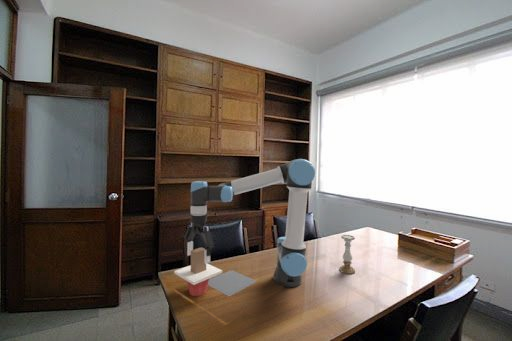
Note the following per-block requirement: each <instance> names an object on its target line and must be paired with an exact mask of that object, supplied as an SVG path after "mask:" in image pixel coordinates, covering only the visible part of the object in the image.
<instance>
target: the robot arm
mask: <svg viewBox="0 0 512 341" xmlns="http://www.w3.org/2000/svg"><path fill="white" fill-rule="evenodd" d="M315 176H316V168H315V166H314V164H313V163H311V161H309V160H307V159H305V158H304V159H303V158H298V159H297V158H296V159H293V160H290V161H288V162H286V163H283V164H281V165H278V166H277V167H276V168H273V169H270V170H267V171H263V172H259V173H256V174H251V175H248V176H245V177H241V178H237V179H235V180H234V179H233V180H231V181H227V182H222V183H220V184H218V185H208V182H207V181H203V180H196V181H192V182H191V183H190V221H189V222H187V223H188V224H187V229H186V231H185V234H184V241H186V244H187V245H186V246H187V248H186V249H187V251H186V253H187V254H186V255H187V257H189V256H191V250H194V241H193V240H194V238H195V236H196V234H197V235H199V237H200V238H201V241H202V243H203V245H204V247H205V248H204V249H205V255H204V263H205V264H206V263H207V264H209V263H210V262H211V255H212V249H213V248H215V243H214V241H213V236H212V232H211V228H210V225H208V226H206V223H207V221H208V214H207V213H208V203H209V202H210V203H211V202H214V203H230V202H232V201H233V196H236V195H240V194H242V193H247V192H250V191H254V190H257V189H262V188H265V187H269V186H272V185H276V184H279V183H281V184H286V188H287V189H288V190H289V192H288V202H287V215H286V226H285V235H284V236H280V237H278V238H277V239H276V240H277V243H276V246H277V247H276V267H275V268H274V269H275V270H274V272H273V281H274V282H275V283H277V284H278V285H281V286H283V288H284V287H285V288H295V287H299V286H300V285H301V284H302V283H303V276H302V274H304V273H305V272H306V270H307V269H308V268H307V267H308V261H307V258H306V254H307V253H306V252H307V245H306V243H305V242H304V239H305V227H306V216H307V203H308V202H307V201H308V192H310V191H311V190H312V187H313V186H312V185H313V181H314V179H315Z"/></svg>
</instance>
